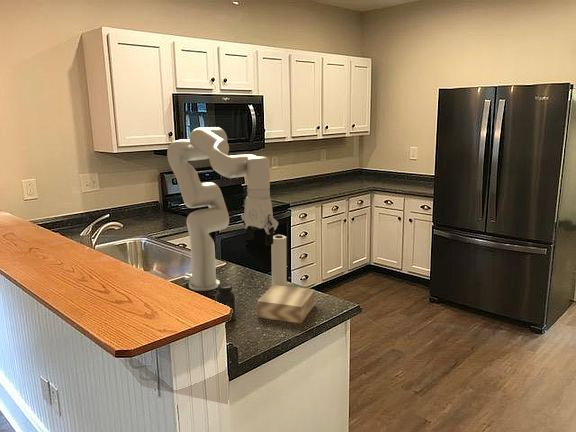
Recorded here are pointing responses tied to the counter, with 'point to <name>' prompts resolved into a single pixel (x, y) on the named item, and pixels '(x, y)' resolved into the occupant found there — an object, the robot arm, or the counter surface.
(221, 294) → the supplement bottle
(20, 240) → the counter surface
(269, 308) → the maple block
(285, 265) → the paper towel roll
